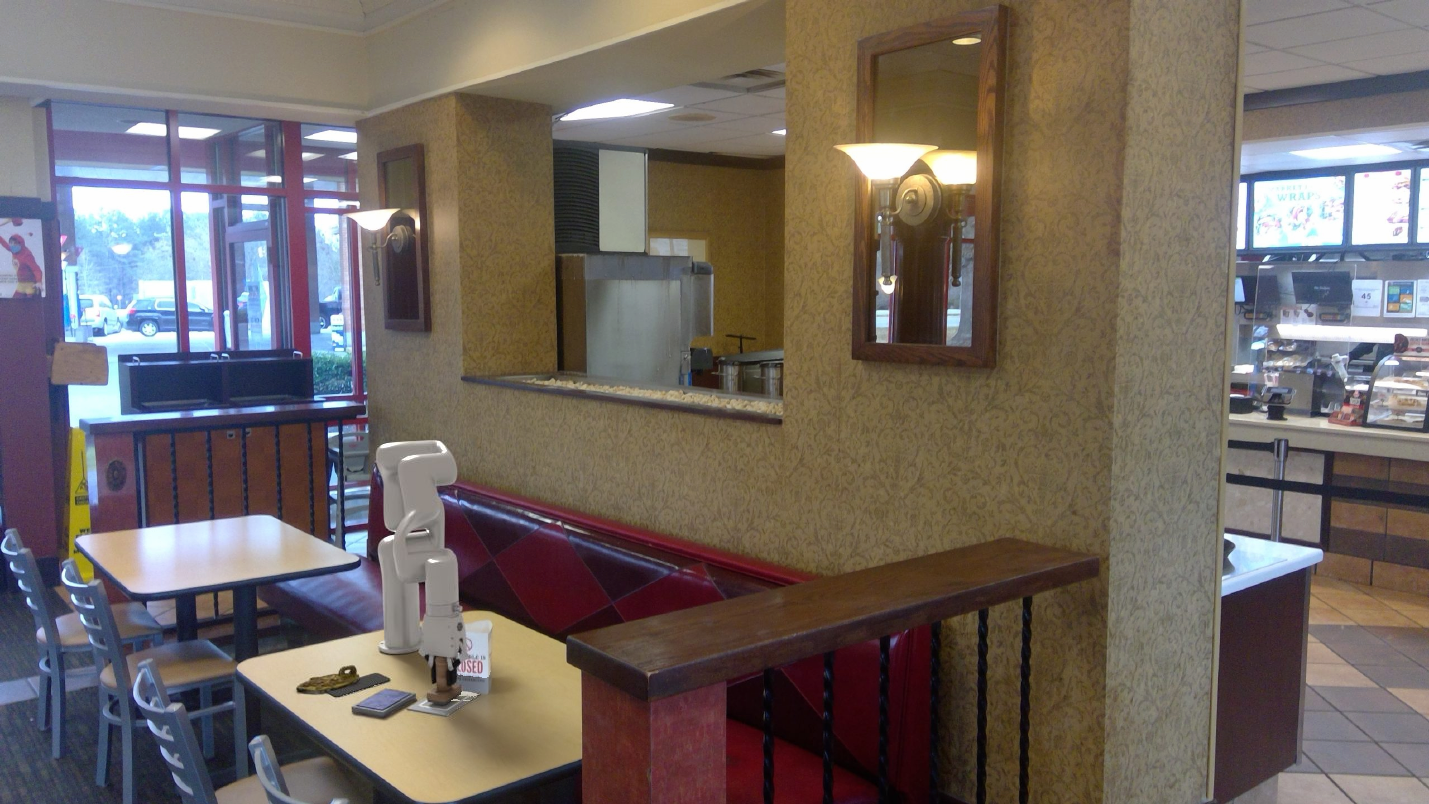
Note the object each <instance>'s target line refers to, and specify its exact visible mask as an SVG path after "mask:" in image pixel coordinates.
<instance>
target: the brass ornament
mask: <svg viewBox="0 0 1429 804" xmlns="http://www.w3.org/2000/svg"><path fill="white" fill-rule="evenodd" d="M346 671H348V672H346ZM359 677H360V674H359V673H358V671H357V667H356V665H355V664H354V665H353V664H352V665H347V666H342V667H340V668H339V670H338V672H337V673H331V674H325V675H322V676H313V677H310V678H309V679H308V680H305V681H304V682H301V683H299V685H297V686H296V688H295V690H296V691H297V692H301V693H302V692H303V693H304V694H308V695H309V694H310V695H311V694H314V695H317V694H325V693H326V691H331V690H336V689H340V688H343V687H346V686H349V685H351V684H353V683H355V682H356V681H357V680H359ZM326 694H327V693H326Z"/></svg>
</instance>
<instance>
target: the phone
mask: <svg viewBox="0 0 1429 804" xmlns="http://www.w3.org/2000/svg"><path fill="white" fill-rule="evenodd" d="M389 682H391V678H390V677H388V676H386V675H384V674H381V673H380V672H374V673H370V674H366V675H363V676H359V680H357V681H356V682H355V683H353V684H351V685H349V686H346V687H343V688H340V689H336V690H331V691H326V694H328V695H329V694H330V696H331V697H333V698H341V697H344V696H343V695H345V696H347V695H346V694H348V695H350V693H351V694H353V692H354V693H357V692H360V691H359V690H361V691H363V690H362V689H364V690H366V688H367V689H369V688H373V686H374V685H377V686H379V685H378V684H380V685H383V684H385V683H389ZM382 683H383V684H382ZM374 687H375V686H374Z"/></svg>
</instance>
